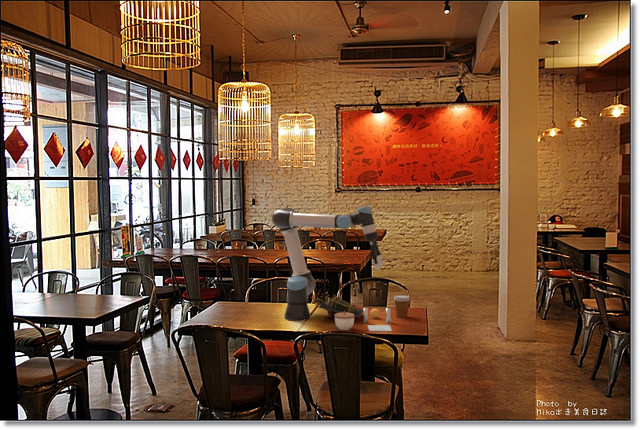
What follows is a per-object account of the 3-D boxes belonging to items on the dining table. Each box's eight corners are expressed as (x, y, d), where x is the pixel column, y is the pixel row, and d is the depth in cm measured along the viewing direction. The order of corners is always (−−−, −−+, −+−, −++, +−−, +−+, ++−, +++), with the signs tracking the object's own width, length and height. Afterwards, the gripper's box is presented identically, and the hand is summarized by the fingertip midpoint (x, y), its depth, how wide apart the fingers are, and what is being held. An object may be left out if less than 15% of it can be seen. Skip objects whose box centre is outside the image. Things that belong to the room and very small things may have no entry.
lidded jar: (352, 332, 302) (352, 314, 301) (332, 330, 305) (332, 313, 304) (356, 327, 312) (356, 310, 311) (337, 325, 315) (337, 308, 314)
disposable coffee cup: (398, 319, 330) (398, 298, 329) (390, 315, 339) (390, 295, 338) (413, 317, 333) (413, 297, 333) (404, 314, 342) (404, 294, 342)
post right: (386, 323, 321) (386, 308, 320) (385, 321, 323) (385, 307, 323) (390, 323, 321) (390, 308, 320) (390, 321, 323) (390, 307, 323)
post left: (363, 323, 321) (363, 309, 320) (363, 322, 323) (363, 308, 323) (368, 323, 321) (368, 308, 320) (367, 322, 323) (367, 307, 323)
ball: (370, 319, 330) (370, 309, 330) (369, 316, 336) (369, 307, 335) (380, 319, 330) (380, 309, 330) (379, 316, 336) (379, 307, 335)
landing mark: (369, 331, 303) (369, 330, 303) (367, 325, 315) (367, 325, 315) (392, 331, 303) (392, 330, 303) (389, 325, 315) (389, 325, 315)
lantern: (355, 330, 320) (305, 313, 326) (360, 324, 343) (313, 309, 349) (362, 307, 320) (312, 290, 326) (366, 302, 343) (319, 287, 349)
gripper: (373, 232, 320) (383, 269, 320) (379, 229, 345) (387, 263, 344) (360, 235, 322) (370, 272, 322) (367, 232, 346) (375, 266, 346)
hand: (379, 268), depth 333 cm, fingers open, 13 cm apart
